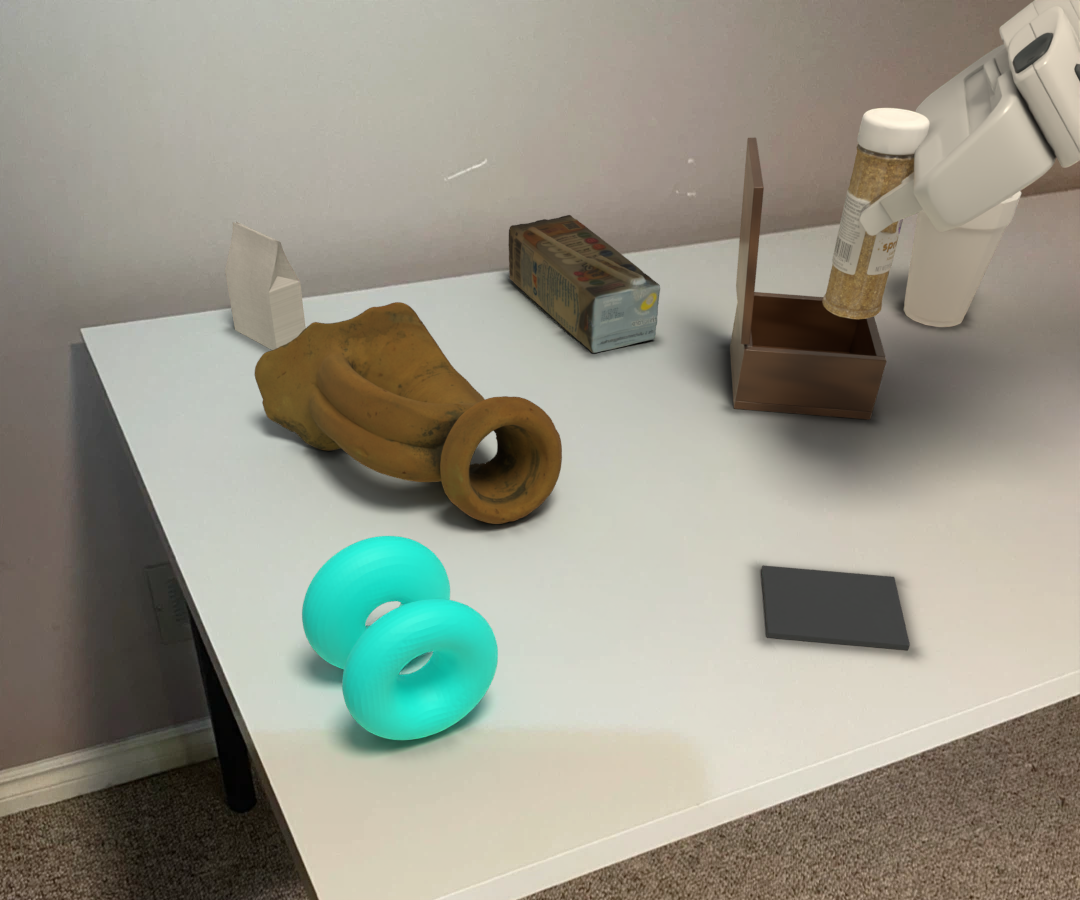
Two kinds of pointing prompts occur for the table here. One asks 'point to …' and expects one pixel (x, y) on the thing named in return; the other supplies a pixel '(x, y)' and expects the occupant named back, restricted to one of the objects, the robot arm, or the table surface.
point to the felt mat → (833, 607)
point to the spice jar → (875, 172)
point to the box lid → (749, 239)
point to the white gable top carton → (263, 289)
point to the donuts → (399, 638)
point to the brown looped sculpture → (410, 412)
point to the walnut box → (806, 359)
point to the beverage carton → (583, 283)
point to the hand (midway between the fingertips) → (865, 211)
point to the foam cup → (952, 264)
